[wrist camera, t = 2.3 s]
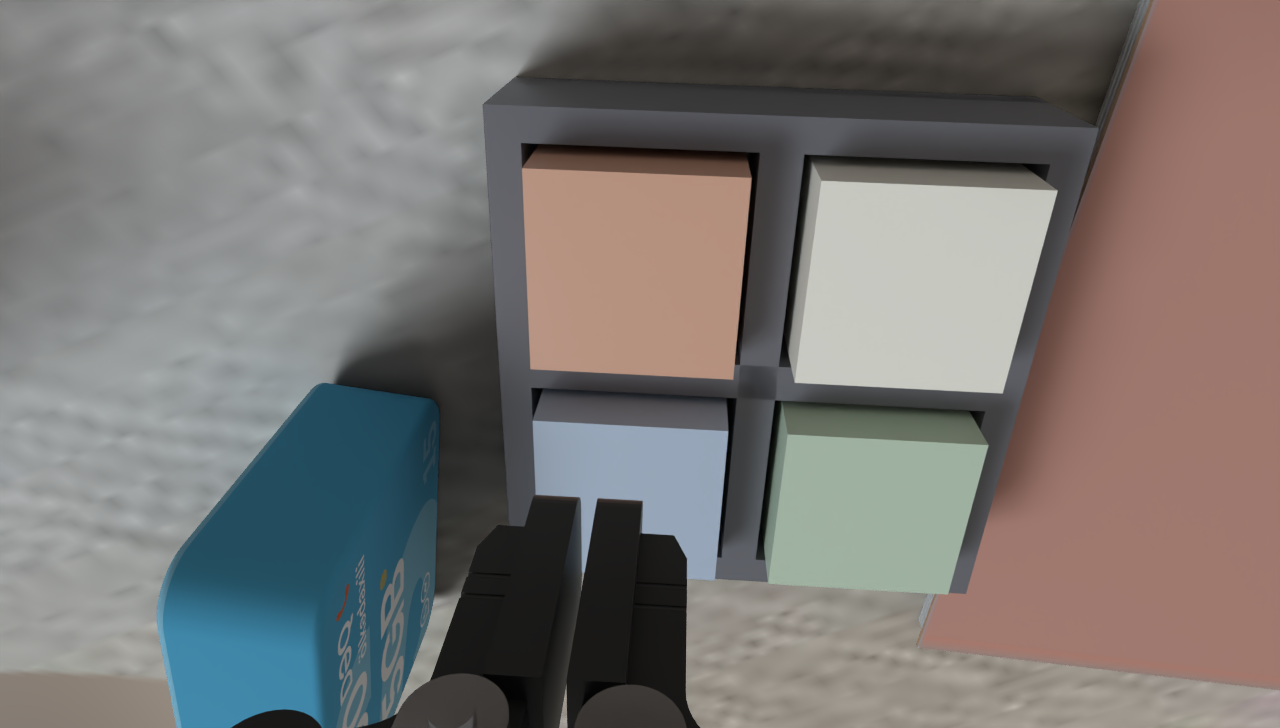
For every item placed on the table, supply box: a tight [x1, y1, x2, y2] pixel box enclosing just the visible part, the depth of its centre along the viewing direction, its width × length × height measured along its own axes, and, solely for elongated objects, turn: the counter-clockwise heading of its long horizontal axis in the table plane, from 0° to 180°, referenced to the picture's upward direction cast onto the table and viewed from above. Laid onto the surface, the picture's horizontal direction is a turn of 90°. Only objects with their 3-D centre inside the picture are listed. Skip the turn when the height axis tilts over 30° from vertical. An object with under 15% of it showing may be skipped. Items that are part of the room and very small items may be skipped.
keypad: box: [483, 77, 1099, 594], centre depth 28 cm, size 16×16×4 cm
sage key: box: [761, 400, 989, 595], centre depth 28 cm, size 6×6×4 cm
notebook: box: [916, 0, 1280, 690], centre depth 29 cm, size 27×17×2 cm, turn 174°
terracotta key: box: [522, 144, 752, 380], centre depth 24 cm, size 6×6×4 cm
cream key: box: [783, 154, 1058, 393], centre depth 24 cm, size 6×6×4 cm
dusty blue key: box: [533, 388, 728, 580], centre depth 28 cm, size 6×6×4 cm
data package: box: [157, 383, 440, 728], centre depth 29 cm, size 12×4×12 cm, turn 172°
